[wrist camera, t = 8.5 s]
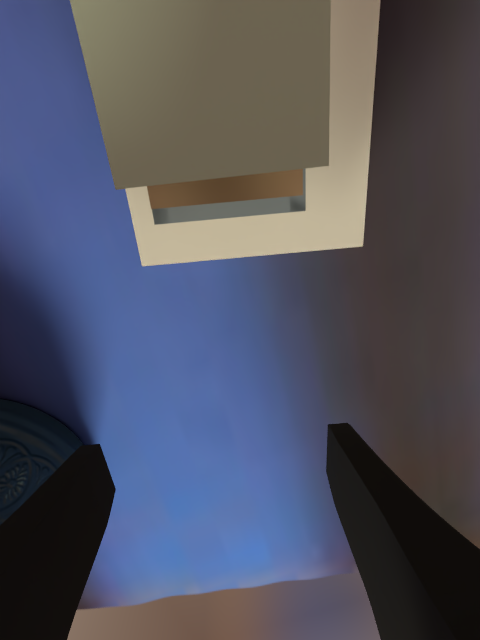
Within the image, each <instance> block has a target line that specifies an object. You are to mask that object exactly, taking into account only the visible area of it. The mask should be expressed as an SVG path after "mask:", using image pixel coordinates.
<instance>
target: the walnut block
mask: <svg viewBox="0 0 480 640" xmlns="http://www.w3.org/2000/svg"><path fill="white" fill-rule="evenodd" d="M147 190H148V195H149V201H150V206H151V209H159V208H170V207H181V206H191V205H202V204H213V203H224V202H235V201H246V200H257V199H267V198H278V197H289V196H300V195H303V169H296V170H287V171H278V172H269V173H261V174H252V175H243V176H234V177H225V178H216V179H207V180H198V181H189V182H180V183H171V184H162V185H153V186H147Z"/></svg>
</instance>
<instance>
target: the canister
mask: <svg viewBox="0 0 480 640" xmlns="http://www.w3.org/2000/svg"><path fill="white" fill-rule="evenodd" d="M80 446H83V443H82V442H81V441H80V440H79V439H78V437H77V436H76V435H75V434H74V433H73V432H72V431H71V430H69V429H68V428H67V427H66V426H65V425H63V424H62V423H60V422H59V421H57V420H56V419H54V418H53V417H51V416H49V415H47V414H46V413H43V412H41V411H39V410H37V409H35V408H32V407H29V406H27V405H24V404H20V403H17V402H13V401H8V400H3V399H0V525H1V524H2V523H3V522H4V521H5V520H6V519H7V518H9V517H10V516H11V515H12V514H13V513H14V512H15V511H16V510H17V509H18V508H19V507H20V506H21V505H22V504H23V503H24V502H25V501H26V500H27V499H28V498H29V497H30V496H31V495H32V494H33V493H34V492H35V491H36V490H37V489H38V488H39V487H40V486H41V485H42V484H43V483H44V482H45V481H46V480H47V479H48V478H49V477H50V476H51V475H52V474H53V473H54V472H55V471H56V470H57V469H58V468H59V467H60V466H61V465H62V464H63V463H64V462H65V461H66V460H67V459H68V458H69V457H70V456H71V455H72V454H73V453H74V452H75V451H76V450H77V449H78V448H79V447H80Z"/></svg>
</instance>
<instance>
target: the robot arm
mask: <svg viewBox="0 0 480 640" xmlns="http://www.w3.org/2000/svg"><path fill="white" fill-rule="evenodd" d="M326 472H327V476H328V480H329V484H330V488H331V492H332V496H333V500H334V504H335V507H336V510H337V513H338V515H339V518H340V521H341V524H342V526H343V529H344V532H345V534H346V537H347V540H348V543H349V545H350V548H351V551H352V553H353V556H354V559H355V562H356V564H357V567H358V570H359V572H360V575H361V578H362V580H363V583H364V586H365V589H366V591H367V595H368V598H369V601H370V604H371V606H372V610H373V613H374V617H375V620H376V624H377V627H378V631H379V634H380V638H381V640H480V549H479V548H477V547H476V546H475V545H474V544H472V543H471V542H470V541H469V540H468V539H466V538H465V537H464V536H463V535H461V534H460V533H459V532H458V531H457V530H455V529H454V528H453V527H452V526H451V525H450V524H448V523H447V522H446V521H445V520H444V519H443V518H441V517H440V516H439V515H438V514H437V513H436V512H435V511H434V510H432V509H431V508H430V507H429V506H428V505H427V504H426V503H425V502H424V501H423V500H422V499H421V498H419V497H418V496H417V495H416V494H415V493H414V492H413V491H412V490H411V489H410V488H409V487H408V486H407V485H406V484H405V483H404V482H403V481H402V480H401V479H400V478H399V477H398V476H397V475H396V474H395V473H394V472H393V471H392V470H391V469H390V468H389V467H388V466H387V465H386V464H385V463H384V462H383V461H382V460H381V459H380V458H379V457H378V456H377V454H376V453H375V452H374V451H373V450H372V449H371V448H370V447H369V446H368V445H367V444H366V442H365V441H364V440H363V439H362V438H361V437H360V436H359V435H358V433H357V432H356V431H355V430H354V429H353V428H352V427H351V425H349V424H348V423H340V424H328V437H327V466H326ZM115 490H116V489H115V486H114V483H113V480H112V477H111V475H110V472H109V469H108V466H107V463H106V460H105V457H104V455H103V452H102V449H101V446H100V444H94V445H83V446H80V447H79V448H78V449H77V450H76V451H75V452H74V453H73V454H72V455H71V456H70V457H69V458H68V459H67V460H66V461H65V462H64V463H63V464H62V465H61V466H60V467H59V468H58V469H57V470H56V471H55V472H54V473H53V474H52V475H51V476H50V477H49V478H48V479H47V480H46V481H45V482H44V483H43V484H42V485H41V486H40V487H39V488H38V489H37V490H36V491H35V492H34V493H33V494H32V495H31V496H30V497H29V498H28V499H27V500H26V501H25V502H24V503H23V504H22V505H21V506H20V507H19V508H18V509H17V510H16V511H15V512H14V513H13V514H12V515H11V516H10V517H9V518H7V519H6V520H5V521H4V522H3V523H2V524H1V525H0V640H67V638H68V634H69V631H70V628H71V625H72V622H73V619H74V615H75V612H76V610H77V607H78V604H79V601H80V599H81V596H82V593H83V590H84V588H85V585H86V582H87V580H88V577H89V574H90V571H91V569H92V566H93V563H94V560H95V558H96V555H97V552H98V549H99V546H100V544H101V541H102V538H103V535H104V532H105V529H106V527H107V523H108V520H109V516H110V512H111V508H112V503H113V499H114V494H115Z"/></svg>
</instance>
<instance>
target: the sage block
mask: <svg viewBox="0 0 480 640" xmlns="http://www.w3.org/2000/svg"><path fill="white" fill-rule="evenodd" d="M70 3H71V7H72V11H73V15H74V19H75V23H76V27H77V32H78V36H79V40H80V44H81V48H82V52H83V56H84V61H85V65H86V69H87V73H88V77H89V81H90V85H91V89H92V94H93V98H94V102H95V106H96V110H97V114H98V118H99V123H100V127H101V131H102V135H103V139H104V143H105V147H106V152H107V156H108V160H109V164H110V168H111V172H112V176H113V180H114V185H115V189H116V190H117V189H126V188H135V187H144V186H153V185H162V184H171V183H180V182H189V181H198V180H207V179H216V178H225V177H234V176H243V175H252V174H261V173H269V172H278V171H287V170H296V169H305V168H314V167H323V166H329V116H330V23H331V0H70Z"/></svg>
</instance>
